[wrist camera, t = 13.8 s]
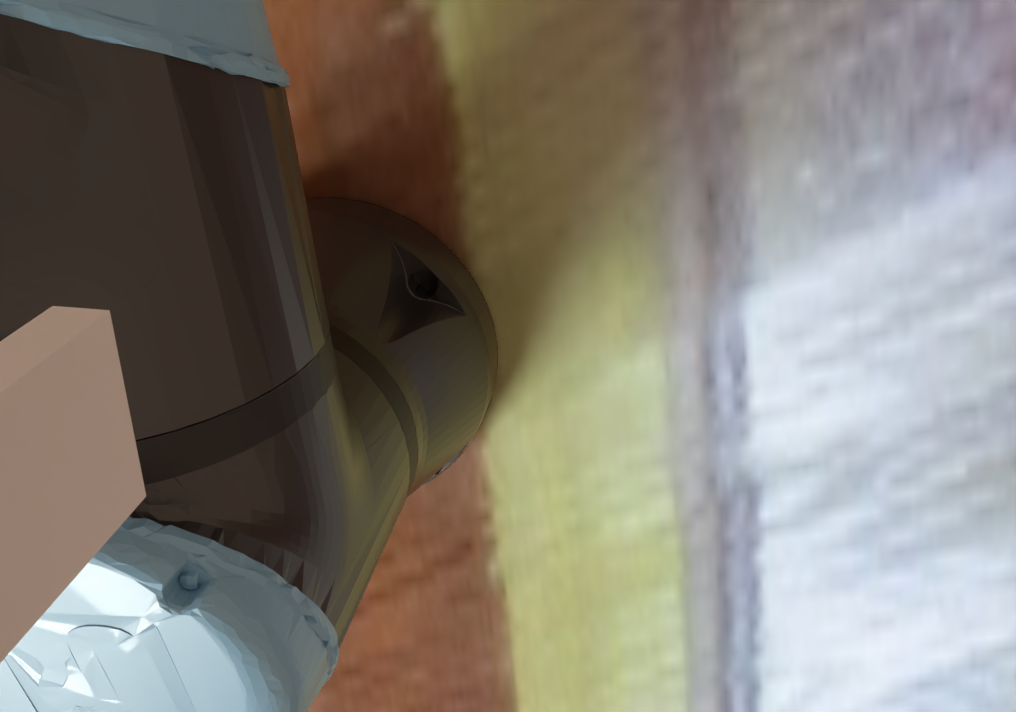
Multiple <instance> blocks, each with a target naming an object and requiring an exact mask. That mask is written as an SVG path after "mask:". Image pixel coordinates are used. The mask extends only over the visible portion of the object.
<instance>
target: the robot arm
mask: <svg viewBox="0 0 1016 712" xmlns="http://www.w3.org/2000/svg"><path fill="white" fill-rule="evenodd" d="M285 87H290V83H289V77H288V74H287V72H286V70H285V69H284V68H283V67H282V66H281V65H279V62H278V59H277V55H276V51H275V48H274V44H273V40H272V37H271V33H270V29H269V25H268V20H267V16H266V12H265V8H264V4H263V0H0V712H307V710H308V709H309V707H310V705H311V704H312V702H313V701H314V699H315V697H316V696H317V694H318V693H319V691H320V689H321V688H322V686H323V685H324V684H325V683H326V682H327V681H328V679H329V678H330V677H331V675H332V673H333V670H334V668H335V667H336V665H337V663H338V660H337V658H338V656H339V655H340V652H339V648H340V645H341V643H342V641H343V639H344V636H345V634H346V632H347V630H348V628H349V625H350V623H351V621H352V619H353V616H354V614H355V612H356V610H357V608H358V605H359V603H360V601H361V599H362V596H363V594H364V592H365V590H366V588H367V585H368V583H369V581H370V579H371V576H372V574H373V572H374V570H375V568H376V565H377V563H378V561H379V559H380V556H381V554H382V552H383V550H384V548H385V545H386V543H387V541H388V539H389V536H390V534H391V532H392V530H393V527H394V525H395V523H396V521H397V519H398V516H399V514H400V512H401V510H402V507H403V505H404V502H405V500H406V498H407V497H408V496H409V495H410V494H412V493H413V492H414V491H415V490H417V489H418V488H419V487H420V486H421V485H423V484H425V483H427V482H429V481H430V480H432V479H433V478H435V477H436V476H438V475H439V474H440V473H442V472H443V471H444V470H446V469H447V468H448V467H449V466H450V465H452V464H453V463H454V462H455V461H456V460H457V459H458V458H459V456H460V455H461V454H462V453H463V452H464V450H465V449H466V448H467V447H468V445H469V444H470V442H471V441H472V439H473V438H474V436H475V435H476V433H477V431H478V429H479V427H480V425H481V422H482V420H483V417H484V415H485V412H486V410H487V407H488V405H489V402H490V400H491V397H492V394H493V390H494V386H495V382H496V376H497V366H498V350H497V340H496V334H495V329H494V325H493V321H492V318H491V315H490V312H489V309H488V307H487V304H486V302H485V300H484V298H483V295H482V293H481V292H480V290H479V288H478V286H477V284H476V283H475V281H474V280H473V278H472V276H471V275H470V273H469V272H468V271H467V269H466V268H465V267H464V266H463V264H462V263H461V262H460V261H459V260H458V258H457V257H456V256H455V255H454V254H453V253H452V252H451V251H450V250H449V249H448V248H447V247H446V246H445V245H444V244H443V243H441V242H440V241H439V240H438V239H437V238H436V237H434V236H433V235H432V234H430V233H429V232H428V231H426V230H425V229H423V228H422V227H420V226H419V225H417V224H416V223H414V222H412V221H410V220H409V219H407V218H405V217H403V216H401V215H399V214H397V213H395V212H392V211H390V210H387V209H385V208H382V207H379V206H376V205H372V204H369V203H364V202H360V201H355V200H349V199H339V198H315V199H305V193H304V188H303V182H302V177H301V172H300V166H299V161H298V155H297V150H296V144H295V139H294V133H293V128H292V123H291V117H290V112H289V106H288V101H287V95H286V90H285Z"/></svg>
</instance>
